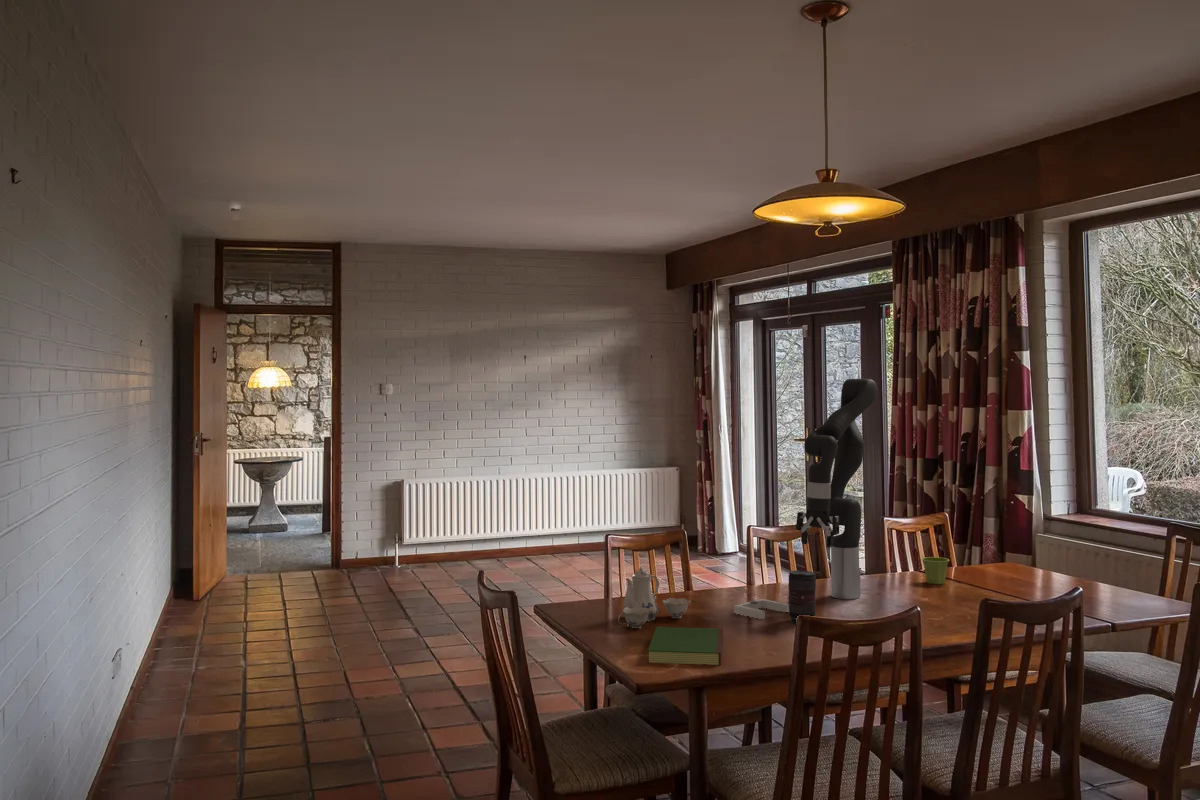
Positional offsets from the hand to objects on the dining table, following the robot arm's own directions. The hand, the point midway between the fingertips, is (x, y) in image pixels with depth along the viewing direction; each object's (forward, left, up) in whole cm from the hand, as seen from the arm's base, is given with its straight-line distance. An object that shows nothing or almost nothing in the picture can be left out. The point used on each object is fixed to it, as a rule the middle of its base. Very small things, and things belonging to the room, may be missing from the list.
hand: (816, 545), depth 304 cm
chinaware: (+54, -24, -20) cm, 62 cm away
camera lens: (+22, +10, -20) cm, 31 cm away
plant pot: (-58, +10, -20) cm, 62 cm away
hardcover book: (+70, +7, -20) cm, 73 cm away
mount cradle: (+22, -5, -19) cm, 30 cm away
